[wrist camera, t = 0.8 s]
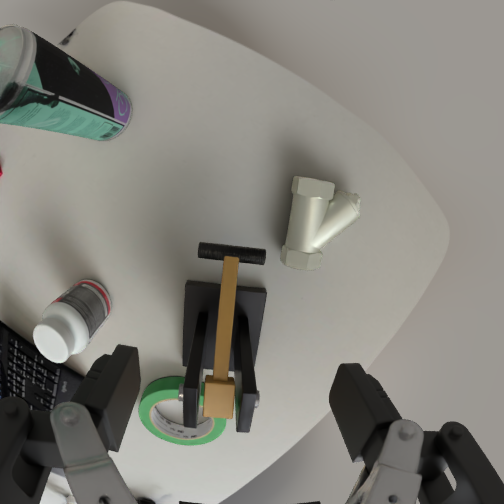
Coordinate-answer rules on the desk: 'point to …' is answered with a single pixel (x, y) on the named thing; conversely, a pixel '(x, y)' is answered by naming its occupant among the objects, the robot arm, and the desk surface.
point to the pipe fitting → (316, 221)
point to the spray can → (56, 90)
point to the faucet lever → (225, 325)
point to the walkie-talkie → (145, 502)
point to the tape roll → (171, 431)
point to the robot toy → (71, 500)
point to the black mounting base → (204, 340)
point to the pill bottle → (72, 320)
